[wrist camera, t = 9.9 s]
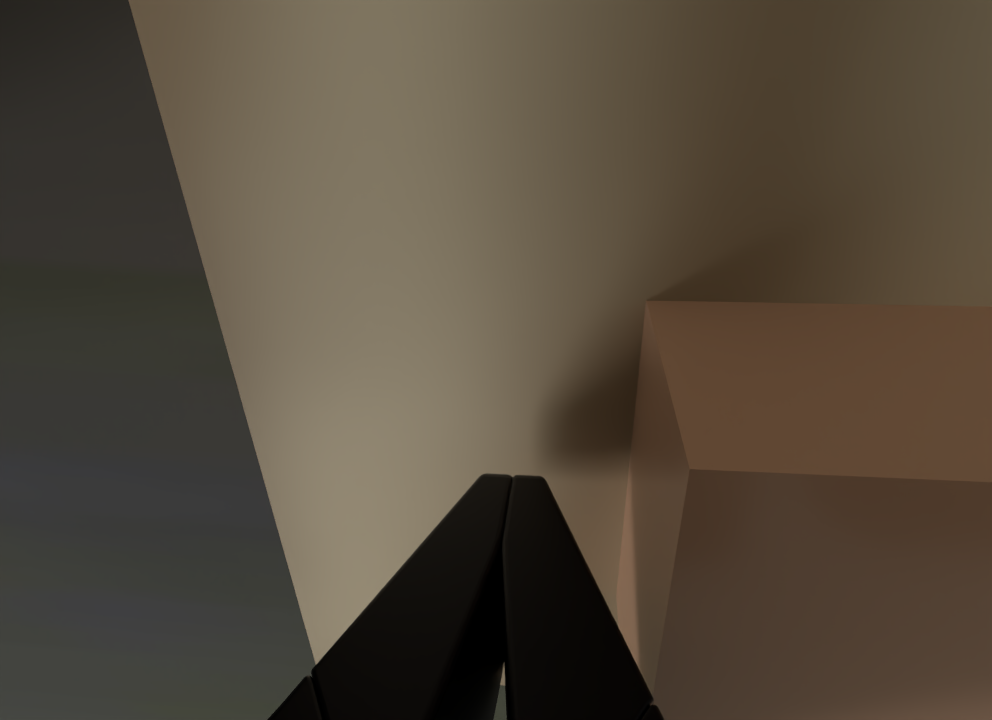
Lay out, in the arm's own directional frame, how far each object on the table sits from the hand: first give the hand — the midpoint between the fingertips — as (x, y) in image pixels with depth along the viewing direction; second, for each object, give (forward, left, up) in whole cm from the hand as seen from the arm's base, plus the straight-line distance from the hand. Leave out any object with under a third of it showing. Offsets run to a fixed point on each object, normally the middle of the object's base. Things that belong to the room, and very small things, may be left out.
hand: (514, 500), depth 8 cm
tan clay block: (+4, 0, -1) cm, 4 cm away
